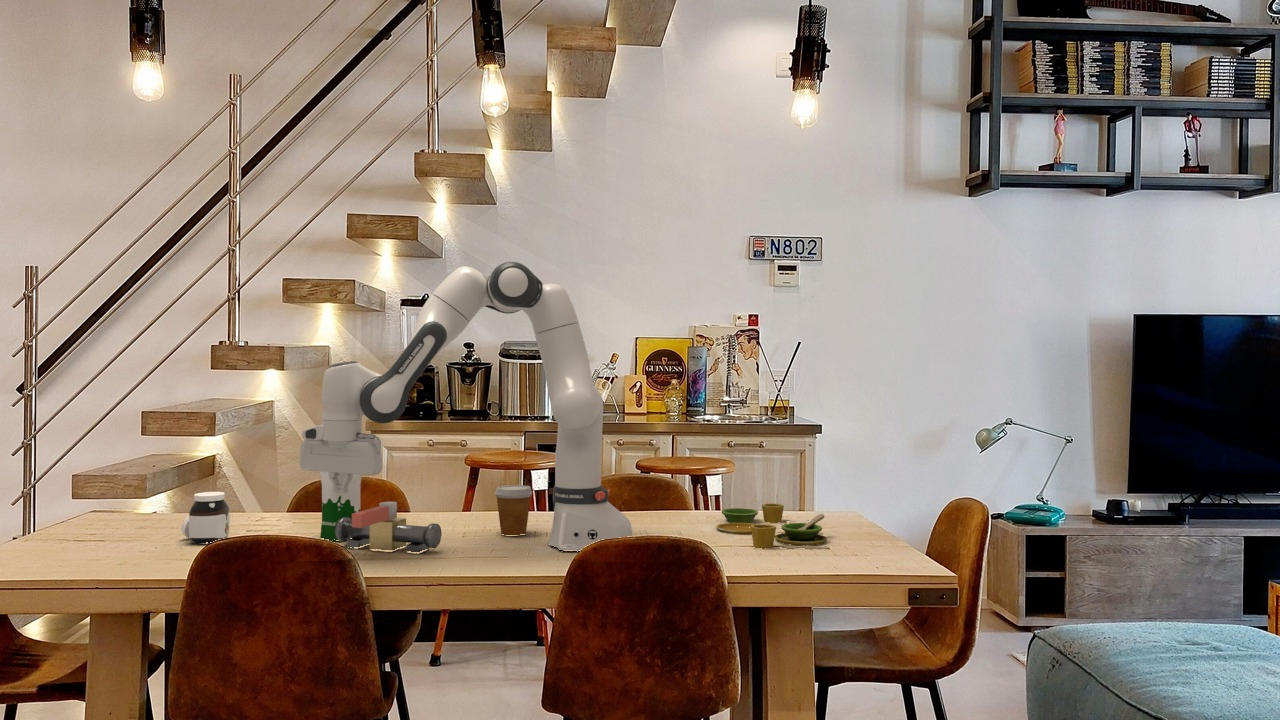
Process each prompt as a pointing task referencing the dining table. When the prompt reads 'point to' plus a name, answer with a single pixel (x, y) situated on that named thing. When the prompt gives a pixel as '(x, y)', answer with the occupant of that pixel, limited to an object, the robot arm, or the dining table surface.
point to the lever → (375, 514)
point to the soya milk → (338, 503)
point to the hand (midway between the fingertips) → (340, 492)
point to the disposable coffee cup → (513, 508)
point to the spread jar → (207, 518)
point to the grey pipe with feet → (389, 535)
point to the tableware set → (773, 528)
